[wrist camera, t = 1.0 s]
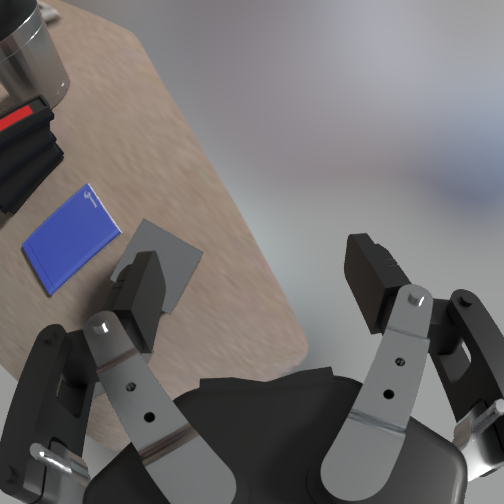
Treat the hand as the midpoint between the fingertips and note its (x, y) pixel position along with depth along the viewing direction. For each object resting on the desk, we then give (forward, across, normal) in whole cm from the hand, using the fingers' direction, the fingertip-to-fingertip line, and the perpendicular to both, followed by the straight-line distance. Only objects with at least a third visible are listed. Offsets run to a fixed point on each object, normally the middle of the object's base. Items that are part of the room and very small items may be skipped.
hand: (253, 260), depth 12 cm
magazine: (+23, +28, -1) cm, 36 cm away
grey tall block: (+17, +10, +13) cm, 24 cm away
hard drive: (+19, +22, +8) cm, 30 cm away
